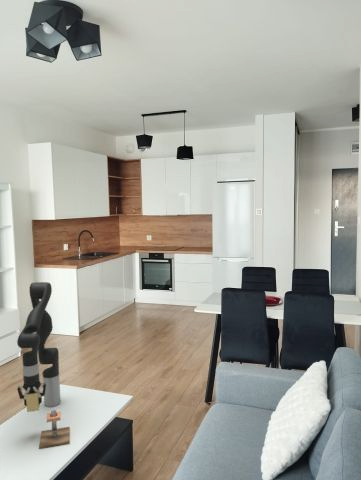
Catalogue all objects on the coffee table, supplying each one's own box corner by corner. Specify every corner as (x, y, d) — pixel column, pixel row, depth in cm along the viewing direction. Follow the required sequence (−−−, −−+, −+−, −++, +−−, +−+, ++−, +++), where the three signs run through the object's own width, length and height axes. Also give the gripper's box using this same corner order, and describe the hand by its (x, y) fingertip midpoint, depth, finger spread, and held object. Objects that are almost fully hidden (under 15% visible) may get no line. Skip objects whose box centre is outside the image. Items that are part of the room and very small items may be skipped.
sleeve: (28, 406, 209) (27, 389, 208) (39, 405, 210) (38, 388, 209) (27, 412, 203) (25, 394, 202) (38, 410, 205) (37, 393, 204)
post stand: (41, 433, 208) (39, 407, 207) (69, 428, 212) (68, 402, 211) (39, 448, 195) (37, 420, 194) (69, 443, 198) (68, 416, 197)
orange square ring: (47, 416, 205) (47, 413, 205) (60, 414, 206) (60, 411, 206) (46, 422, 199) (46, 419, 199) (60, 420, 200) (60, 417, 200)
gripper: (46, 367, 210) (48, 399, 212) (16, 371, 207) (19, 403, 208) (45, 373, 203) (47, 406, 205) (14, 377, 199) (17, 410, 201)
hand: (33, 404), depth 207 cm, fingers closed on sleeve, 5 cm apart
